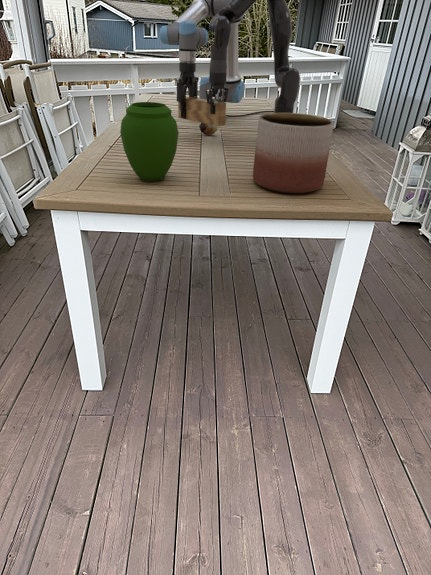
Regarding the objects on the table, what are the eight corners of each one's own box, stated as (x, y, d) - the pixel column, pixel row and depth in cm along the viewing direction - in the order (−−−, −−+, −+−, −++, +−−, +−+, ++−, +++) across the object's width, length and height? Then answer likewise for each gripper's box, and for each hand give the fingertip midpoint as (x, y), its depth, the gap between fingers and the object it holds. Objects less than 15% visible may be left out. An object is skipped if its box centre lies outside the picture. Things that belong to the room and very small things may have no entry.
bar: (178, 118, 197) (178, 96, 192) (184, 117, 200) (184, 96, 195) (218, 126, 185) (219, 103, 180) (225, 124, 188) (226, 102, 183)
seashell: (216, 134, 214) (217, 117, 210) (218, 136, 209) (218, 119, 205) (198, 133, 213) (198, 117, 208) (199, 136, 208) (199, 119, 204)
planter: (334, 195, 139) (348, 127, 128) (262, 196, 135) (270, 126, 123) (308, 173, 160) (318, 112, 149) (245, 173, 156) (250, 111, 145)
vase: (131, 189, 135) (125, 110, 122) (118, 172, 150) (112, 100, 137) (186, 184, 142) (187, 109, 129) (169, 168, 157) (167, 99, 144)
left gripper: (180, 63, 176) (180, 120, 188) (206, 62, 188) (204, 116, 201) (167, 61, 180) (168, 118, 192) (193, 61, 192) (193, 114, 204)
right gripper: (214, 72, 170) (213, 116, 179) (234, 71, 179) (232, 113, 189) (200, 71, 173) (200, 114, 183) (221, 69, 183) (219, 110, 192)
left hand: (187, 117), depth 196 cm, fingers closed on bar, 5 cm apart
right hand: (216, 113), depth 185 cm, fingers closed on bar, 4 cm apart
